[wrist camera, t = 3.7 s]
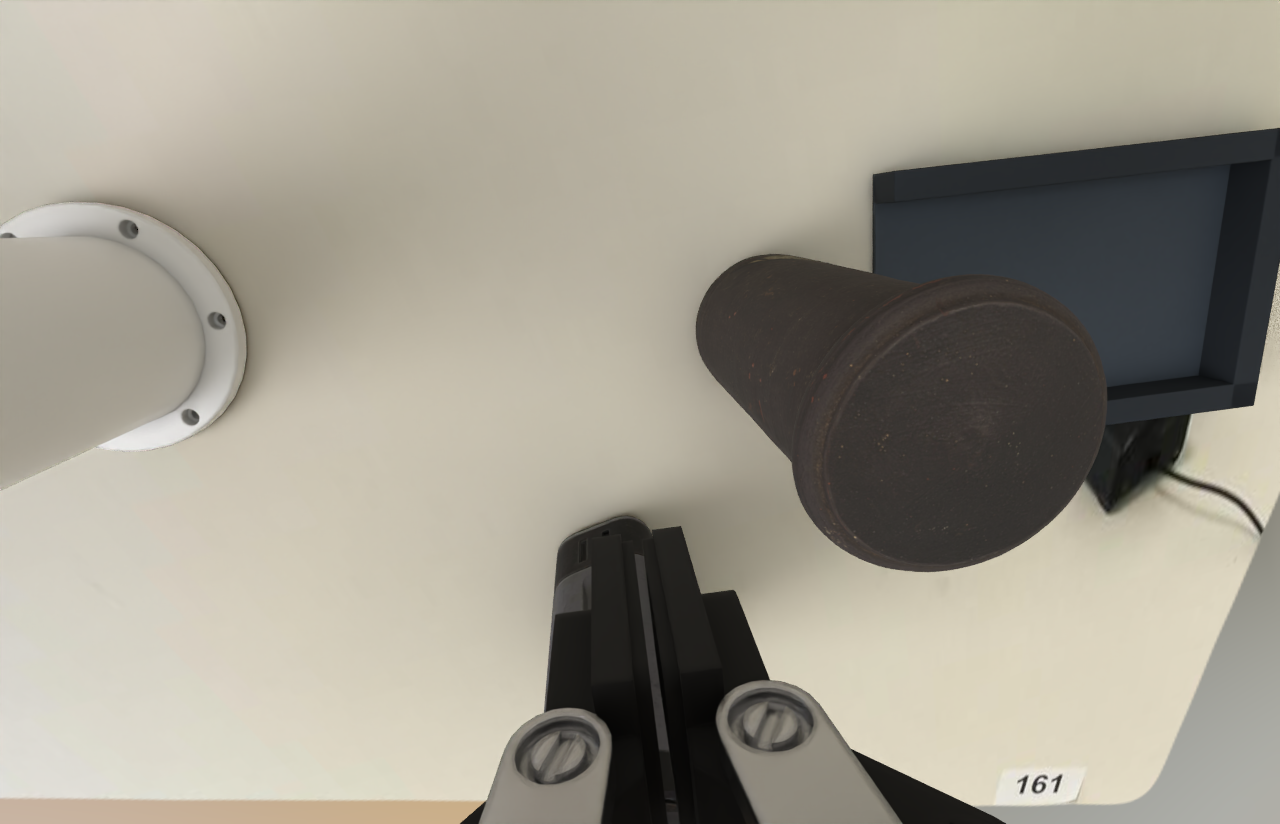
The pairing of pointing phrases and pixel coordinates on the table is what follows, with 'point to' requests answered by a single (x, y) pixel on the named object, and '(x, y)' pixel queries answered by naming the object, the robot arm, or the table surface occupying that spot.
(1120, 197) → the tray
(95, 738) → the table surface
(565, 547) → the electronic device
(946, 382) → the container
